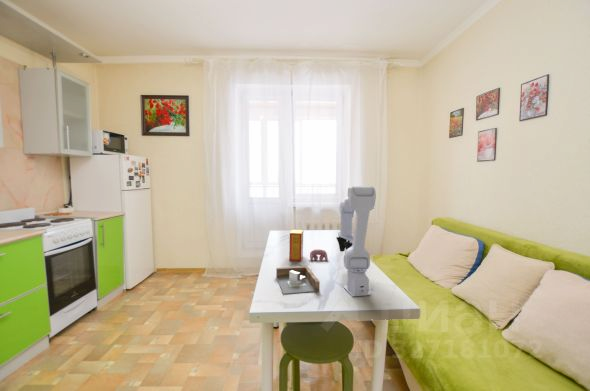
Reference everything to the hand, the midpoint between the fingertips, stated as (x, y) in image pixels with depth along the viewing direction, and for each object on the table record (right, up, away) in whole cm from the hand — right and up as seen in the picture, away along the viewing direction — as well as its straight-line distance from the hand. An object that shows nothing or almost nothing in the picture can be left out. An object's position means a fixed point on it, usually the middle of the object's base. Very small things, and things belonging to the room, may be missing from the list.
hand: (345, 253), depth 128 cm
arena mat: (-24, -10, -14) cm, 30 cm away
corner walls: (-24, -10, -14) cm, 30 cm away
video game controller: (-12, -8, +18) cm, 23 cm away
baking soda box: (-24, -8, +21) cm, 33 cm away
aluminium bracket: (-24, -10, -13) cm, 29 cm away
